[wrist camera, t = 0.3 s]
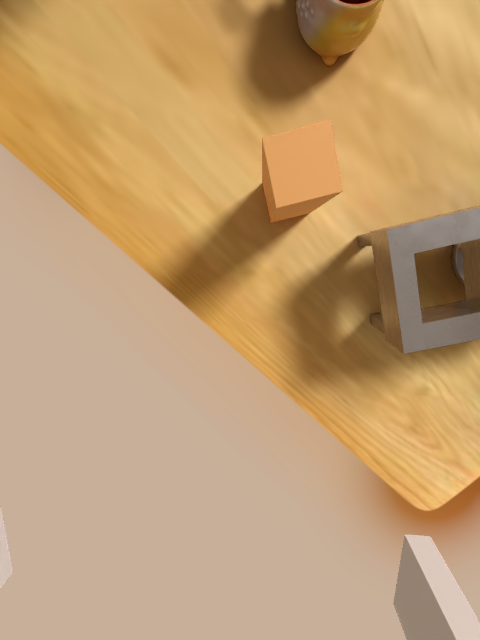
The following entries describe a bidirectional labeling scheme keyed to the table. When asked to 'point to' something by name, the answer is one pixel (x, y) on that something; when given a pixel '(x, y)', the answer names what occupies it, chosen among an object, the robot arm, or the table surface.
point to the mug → (336, 25)
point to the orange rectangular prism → (299, 170)
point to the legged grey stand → (402, 287)
